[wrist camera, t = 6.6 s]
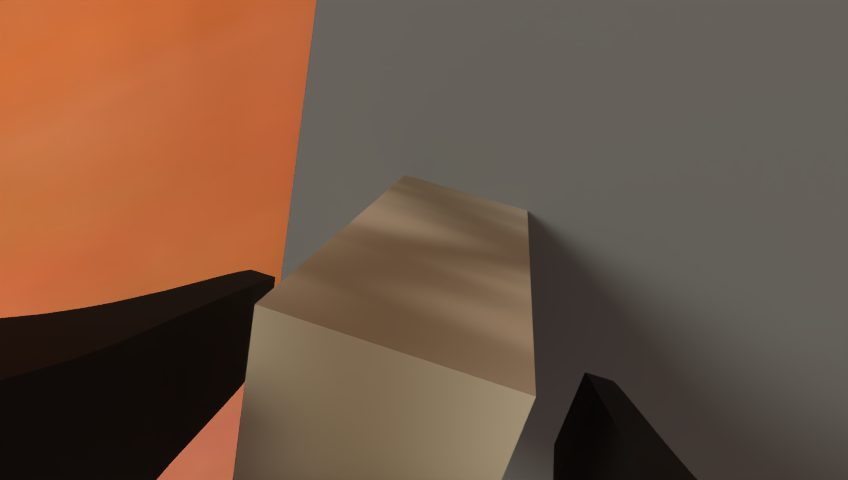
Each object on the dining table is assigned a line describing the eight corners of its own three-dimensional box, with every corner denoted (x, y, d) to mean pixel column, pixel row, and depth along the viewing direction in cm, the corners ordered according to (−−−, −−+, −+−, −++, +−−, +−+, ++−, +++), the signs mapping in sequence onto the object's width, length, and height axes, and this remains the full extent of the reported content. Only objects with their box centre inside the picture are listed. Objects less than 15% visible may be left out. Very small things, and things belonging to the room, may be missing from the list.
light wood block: (532, 211, 13) (548, 401, 5) (472, 386, 15) (424, 691, 8) (404, 175, 13) (255, 304, 6) (364, 350, 15) (216, 609, 8)
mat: (1250, -79, 9) (1299, -89, 8) (752, 590, 16) (760, 609, 16) (358, -242, 11) (349, -259, 10) (268, 426, 18) (260, 437, 17)
